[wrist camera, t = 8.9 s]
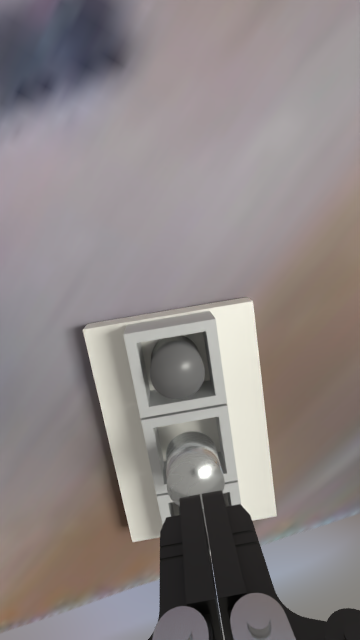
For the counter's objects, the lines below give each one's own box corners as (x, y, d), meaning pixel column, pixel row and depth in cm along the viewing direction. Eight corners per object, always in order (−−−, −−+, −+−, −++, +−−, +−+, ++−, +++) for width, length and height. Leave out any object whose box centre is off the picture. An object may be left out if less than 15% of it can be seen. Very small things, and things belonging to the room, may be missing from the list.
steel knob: (212, 427, 26) (220, 454, 23) (219, 471, 27) (228, 504, 24) (161, 436, 26) (162, 465, 23) (170, 480, 27) (171, 514, 24)
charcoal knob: (195, 330, 28) (200, 343, 24) (202, 376, 29) (208, 394, 25) (147, 339, 28) (145, 352, 24) (155, 384, 29) (155, 403, 25)
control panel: (246, 297, 30) (263, 308, 25) (270, 500, 35) (288, 543, 30) (87, 323, 30) (73, 340, 25) (133, 525, 34) (129, 571, 30)
